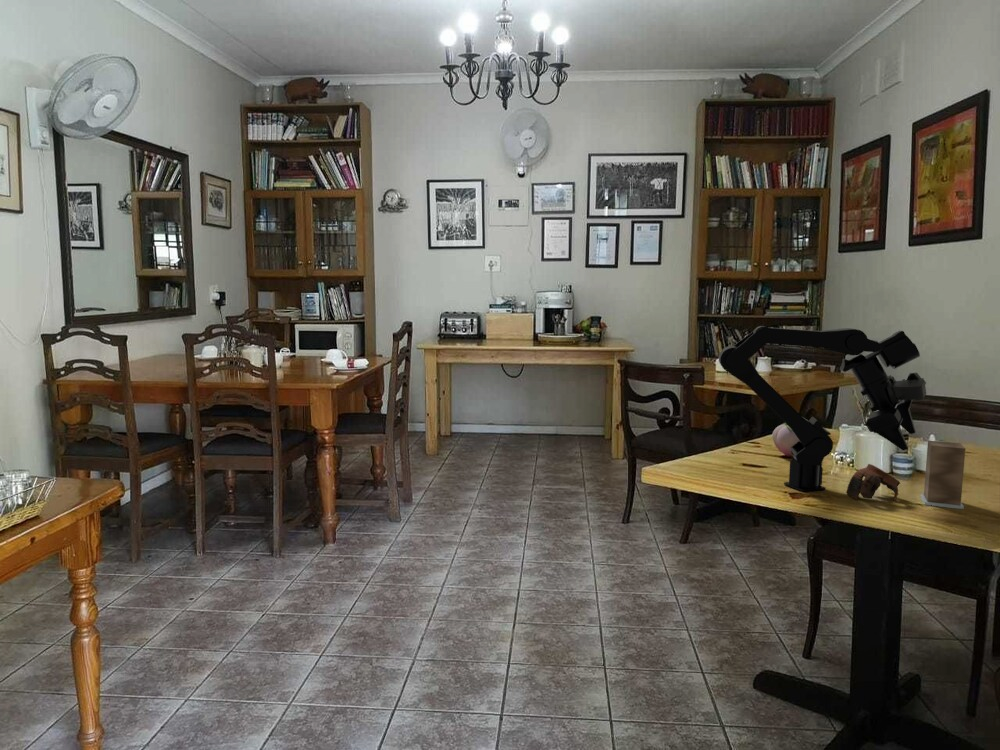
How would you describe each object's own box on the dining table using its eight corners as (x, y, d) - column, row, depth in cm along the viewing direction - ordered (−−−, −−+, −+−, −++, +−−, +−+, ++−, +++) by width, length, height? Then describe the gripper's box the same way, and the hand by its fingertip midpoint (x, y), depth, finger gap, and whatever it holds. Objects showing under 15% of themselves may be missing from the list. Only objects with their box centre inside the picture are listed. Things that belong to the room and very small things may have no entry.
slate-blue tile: (924, 504, 152) (924, 501, 152) (920, 496, 158) (920, 493, 158) (963, 509, 149) (963, 506, 149) (957, 500, 156) (958, 497, 156)
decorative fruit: (811, 460, 192) (813, 423, 191) (781, 460, 192) (783, 423, 191) (796, 452, 202) (798, 417, 201) (767, 452, 202) (769, 417, 200)
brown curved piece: (843, 491, 164) (864, 461, 163) (884, 516, 159) (905, 485, 158) (840, 490, 154) (862, 457, 153) (883, 516, 149) (906, 483, 148)
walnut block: (927, 501, 152) (931, 445, 151) (923, 494, 158) (928, 440, 156) (960, 505, 150) (965, 448, 148) (955, 498, 155) (960, 443, 154)
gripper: (902, 379, 147) (941, 446, 146) (918, 352, 160) (953, 413, 160) (849, 399, 154) (886, 462, 154) (869, 371, 168) (903, 429, 168)
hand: (909, 441), depth 159 cm, fingers open, 9 cm apart
